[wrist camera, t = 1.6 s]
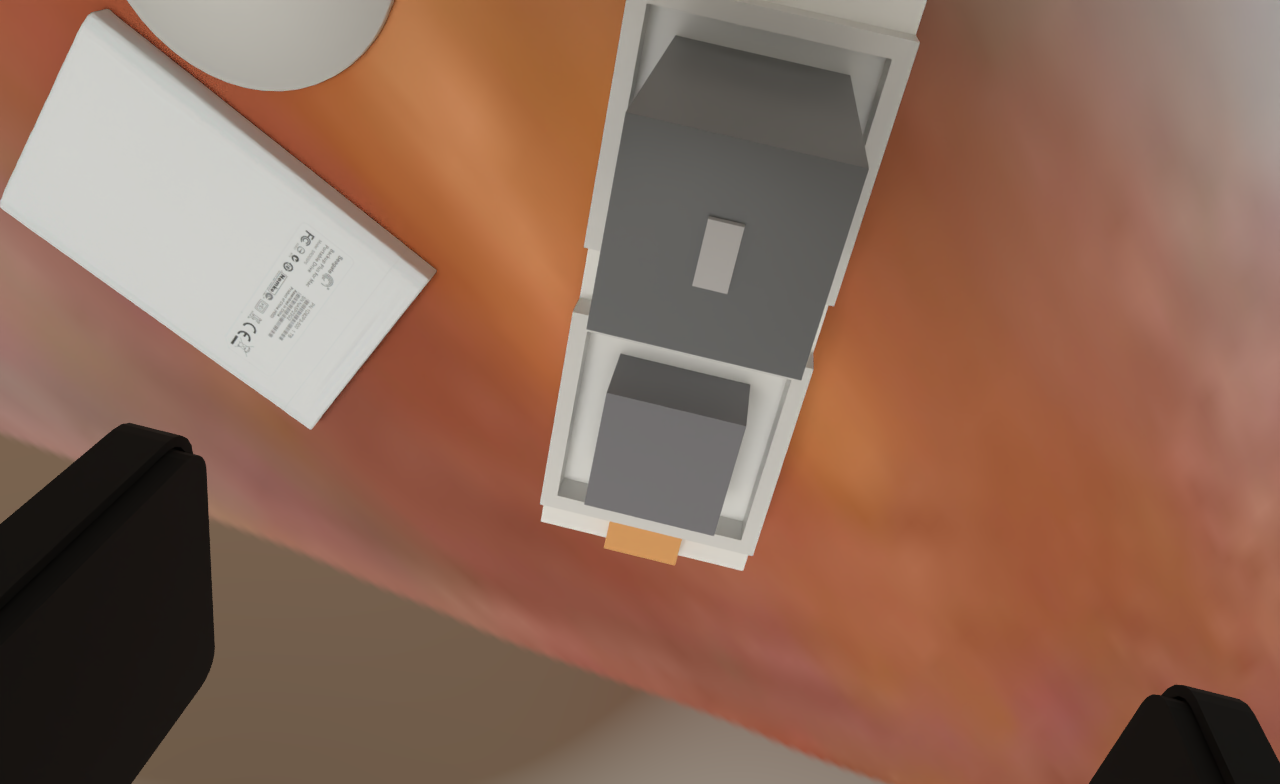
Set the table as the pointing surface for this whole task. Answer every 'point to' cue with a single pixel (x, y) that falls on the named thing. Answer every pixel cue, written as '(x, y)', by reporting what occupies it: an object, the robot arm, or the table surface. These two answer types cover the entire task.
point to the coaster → (267, 37)
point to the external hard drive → (208, 222)
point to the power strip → (684, 383)
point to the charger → (730, 207)
